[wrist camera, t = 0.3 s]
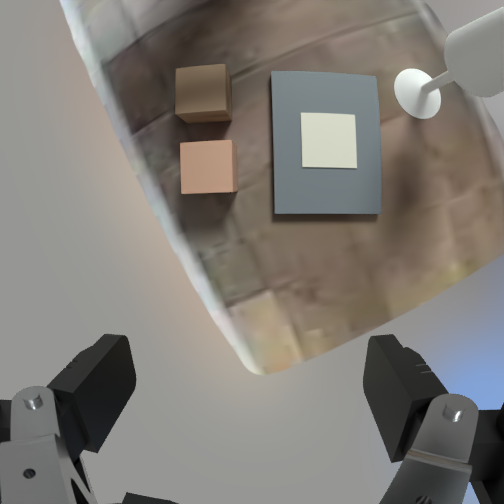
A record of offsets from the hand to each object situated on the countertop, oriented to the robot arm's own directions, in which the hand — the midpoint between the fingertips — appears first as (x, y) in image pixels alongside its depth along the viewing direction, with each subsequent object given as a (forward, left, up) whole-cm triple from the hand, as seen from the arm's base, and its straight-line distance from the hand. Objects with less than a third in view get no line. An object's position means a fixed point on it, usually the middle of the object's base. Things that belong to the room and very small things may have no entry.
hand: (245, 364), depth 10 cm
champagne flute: (-17, +19, -27) cm, 38 cm away
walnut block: (-15, -6, -27) cm, 32 cm away
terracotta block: (-7, -5, -27) cm, 29 cm away
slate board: (-10, +7, -27) cm, 30 cm away
